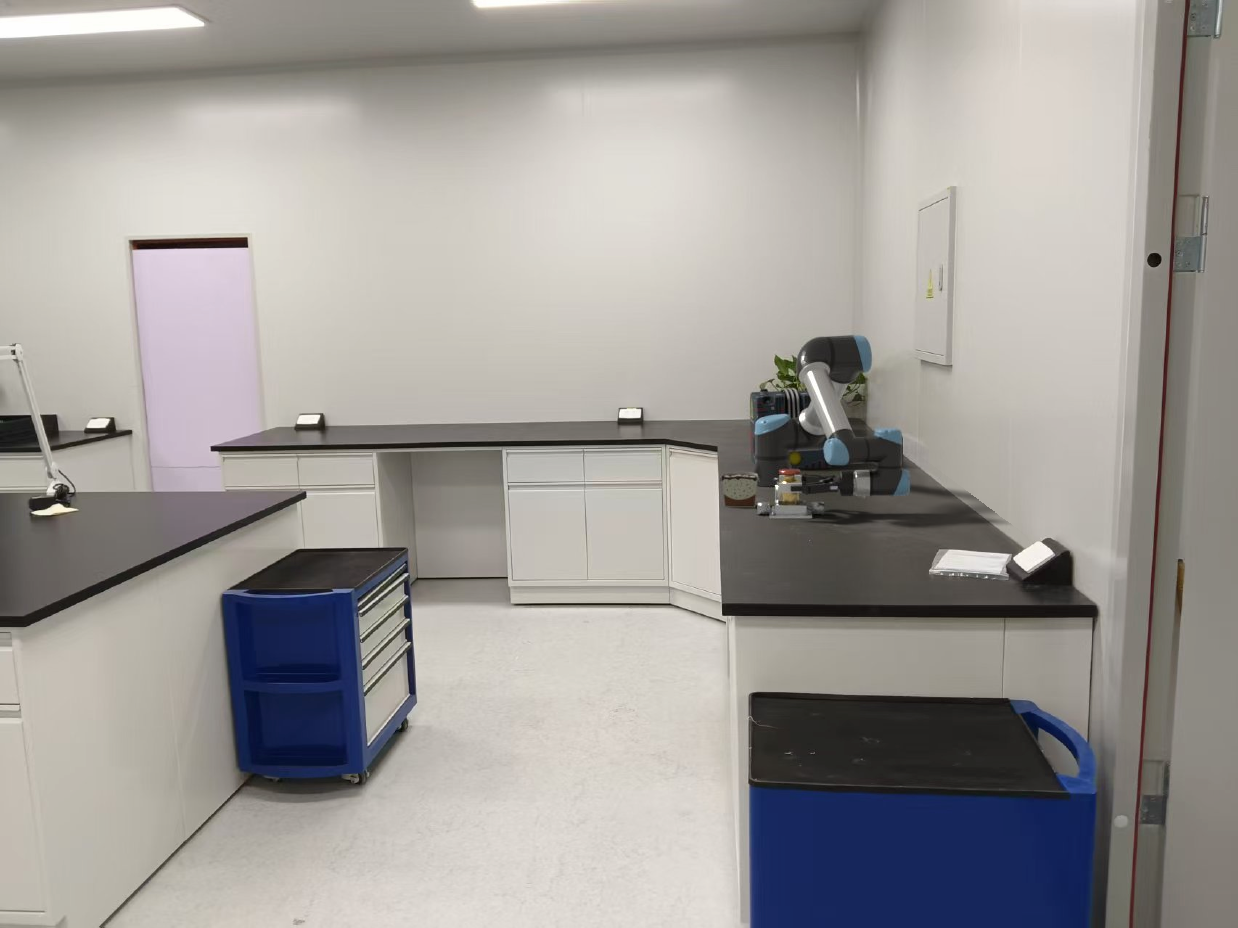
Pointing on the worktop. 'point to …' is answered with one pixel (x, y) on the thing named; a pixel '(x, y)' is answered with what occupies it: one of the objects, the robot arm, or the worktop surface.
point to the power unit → (792, 406)
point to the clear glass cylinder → (777, 490)
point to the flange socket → (790, 509)
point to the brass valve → (790, 478)
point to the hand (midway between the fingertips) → (778, 483)
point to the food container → (739, 489)
